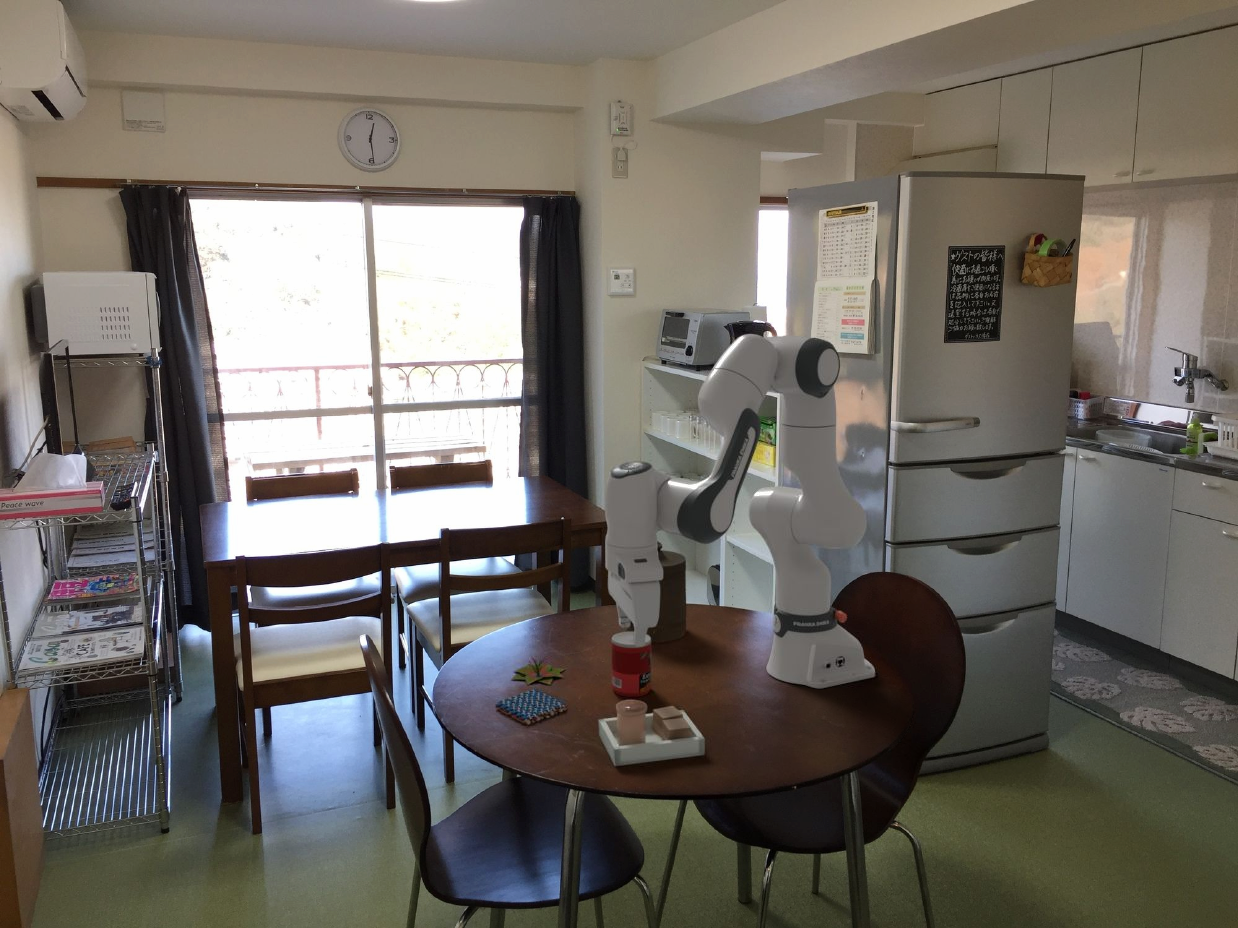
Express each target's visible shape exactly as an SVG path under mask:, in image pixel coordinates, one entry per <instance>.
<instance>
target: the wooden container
mask: <svg viewBox="0 0 1238 928" xmlns="http://www.w3.org/2000/svg"><path fill="white" fill-rule="evenodd" d="M657 551H658V558H659V561H660V563H661V566H662V568H663V579H662V580H658V581H659V584H660V607H659V619H658V622H657V625H656V626H655V627H649V628H648V630H647V633H646V634H647V635H649V636H650V637H651V643H654V644H655V643H669V642H672V641H673V642H674V641H677V640H679V639H682V638H683V637H684V636H685V635H686V633H687V585H686V584H687V582H686V581H687V580H686V578H687V572H686V570H687V560H686V557H685V556H684V555H683V554H682V553H679V552H675V551H671V550H664V549H663V544H662V543H661V542H660V541H658V540H657ZM622 629H623V630H622V632H634V629H635V628H634V624H633V623H632V621H631V620H630V627H625V628H622Z"/></svg>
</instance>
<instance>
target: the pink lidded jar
mask: <svg viewBox="0 0 1238 928" xmlns="http://www.w3.org/2000/svg"><path fill="white" fill-rule="evenodd" d="M615 711H616V715H617V716H616V717H617V743H618V745H619V746H625V745H633V744H641V743H646V714H647V711H648V705H647V704H646V703H645V702H644V701H641V700H639V699H638V700H636V699H625V700H621V701H619V702H618V703H616V705H615Z"/></svg>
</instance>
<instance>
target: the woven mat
mask: <svg viewBox="0 0 1238 928" xmlns="http://www.w3.org/2000/svg"><path fill="white" fill-rule="evenodd" d="M494 707H495V708H496V710H497V711H499V712H502V713H503V714H506V715H507V716H509V717H512V718H513V719H516V720H517V721H519V722H521V723H523V724H524V725H530V724H532V723H535V722H536V721H537V722H539V721H540V720H543V719H544V717H545V718H546V719H548V718H551V717H552V716H554V715H555V714H558V712H559V713H562V712H564V711H567V707H568V705H567V704H566V703H565V702H563V700H559V699H558V698H557V697H556V698H555V697H553V696H552V695H548V694H547V693H544V692H542V690H538V689H537V688H534V689H530V690H528V691H526V692H521V693H519V694H517V695H513V696H511V697H508V698H505V699H502V700H499V701H498V702H497V703H495V706H494Z"/></svg>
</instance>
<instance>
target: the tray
mask: <svg viewBox="0 0 1238 928" xmlns="http://www.w3.org/2000/svg"><path fill="white" fill-rule="evenodd" d="M677 710H678V709H677ZM678 711H680V712H681V713H682V714H683V718H684V719H685V720H686V721H687V723H688V724H689V725H690V727H691V738H683V739H675V740H666V741H662V738H661V737H660V736H659V735H658V734H656V733H655V732H654V731H653V712H651V713H646V743H641V744H633V745H625V746H619V745H618V743H617V716H616V717H611V718H610V717H608V718H599V719H598V736H599V738H600V740H601V742H602V744H603V746H604V748H605V750H606V752H607V754H608V756H609V758H610V760H611V761H612V763H613V765H614V766H615V767H618V766H626V765H634V764H643V763H648V762H649V763H650V762H651V763H652V762H658V761H666V760H674V759H681V758H683V759H684V758H691V757H697V756H698V757H699V756H705V750H706V748H705V747H706V746H705V744H706V743H705V742H706V738H705V737H704V736H703V735H702V732H701V731H700V730H699V729H698V728H697V726H696V725H695V724H694V723H693V721H692V720H691V718H689V716H688V715H687V713H686V712H685V710H684V709H679V710H678Z"/></svg>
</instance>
